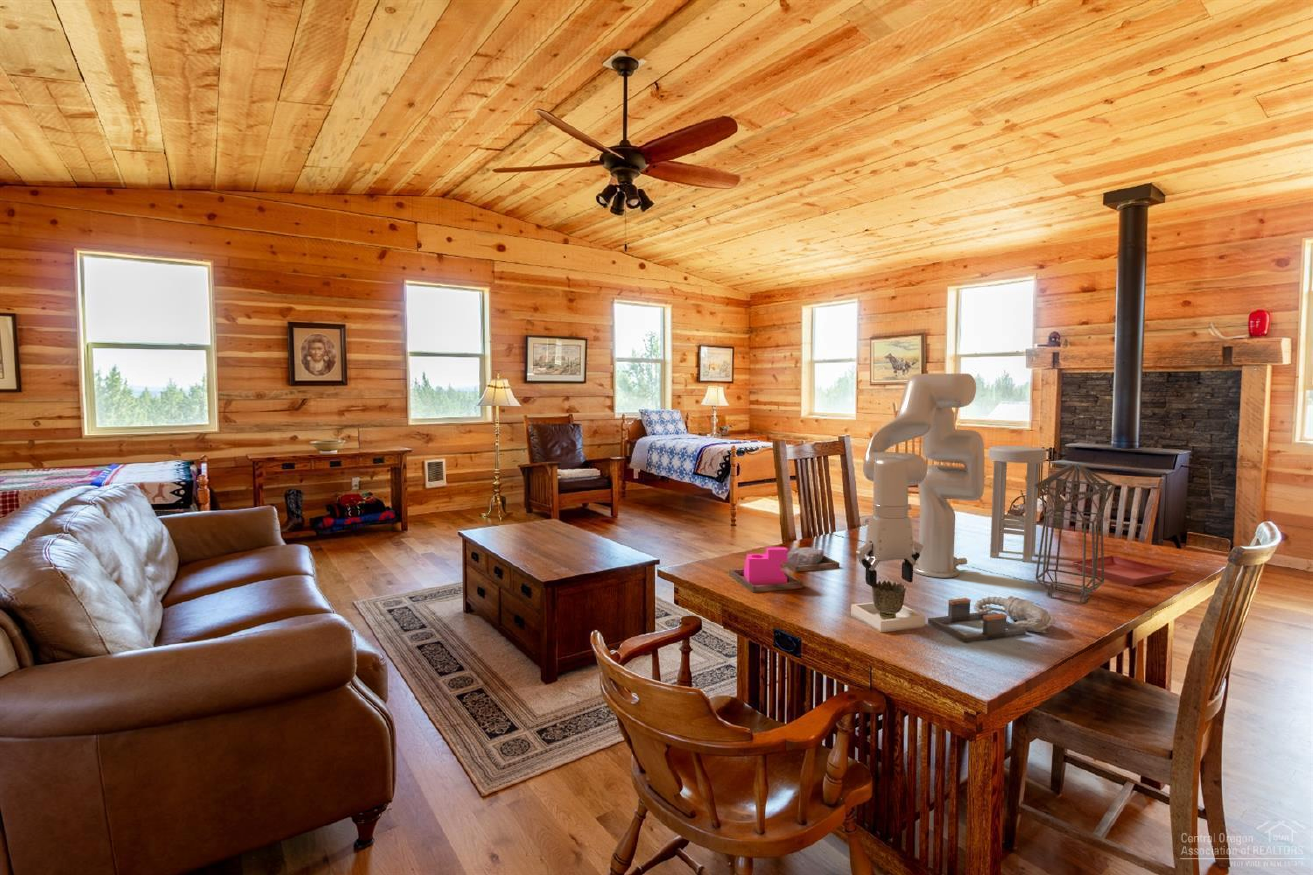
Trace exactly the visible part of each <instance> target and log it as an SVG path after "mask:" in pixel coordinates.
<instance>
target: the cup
mask: <svg viewBox="0 0 1313 875" xmlns="http://www.w3.org/2000/svg"><path fill="white" fill-rule="evenodd" d="M906 589H907V587H905V585H904V584H902V582H899V583H896V581H894V582H892V583H891V581H890V580H888V581H887V582H886V580H883V582H882V581H881V580H879V581H878V582H877V586H876V587H872V586H871V592H872V600H873V601H872V602H874V605H875V607H876V609H877V610H878V611H880V613H879V615H880V617H881V618H882V619H884V620H885V619H894V618H896V613H898V612H899V611H900V610H901V609H902V606H903V605H904V602H905V596H906V595H905V594H906Z"/></svg>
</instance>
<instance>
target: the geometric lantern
mask: <svg viewBox="0 0 1313 875" xmlns="http://www.w3.org/2000/svg"><path fill="white" fill-rule="evenodd" d="M1066 473H1067V475H1066V477H1065V478H1064V479H1063V478H1061V477H1062V476H1064V475H1065V474H1066ZM1072 473H1073V474H1072ZM1080 473H1081V474H1082V476H1083V478H1084V479H1085V481H1080ZM1071 475H1072V480H1068V479H1069V477H1070V476H1071ZM1099 479H1100V480H1101V481H1102V482H1101V481H1099ZM1054 481H1056V482H1057V483H1059V484H1060V485H1059V486H1058V487H1052V486H1051V483H1053V482H1054ZM1066 483H1067V484H1071V487H1070V486H1069V485H1067V484H1066ZM1080 484H1082V485H1089V487H1088V490H1087V491H1078V490H1079V486H1080ZM1075 485H1076V488H1075ZM1034 486H1035V487H1037V488H1038V492H1040V495H1041V502H1042V503H1041V505H1042V514H1043V515H1042V516H1044V517H1043V524H1042V531H1041V537H1040V543H1039V544H1040V545H1039V551H1038V557H1037V558H1038V559H1037V565H1036V571H1035V578H1034V579H1035V580H1036V581H1037V582H1038V583H1039V585H1041V586H1042V587H1044V588H1045V589H1046V591H1047V594H1046V595H1045V596H1046V597H1047V598H1051V599H1057V600H1061V601H1067V602H1072V603H1077V604H1085V603H1086V602H1087V601H1088V599H1089V596H1090V593H1092V592H1095V591H1096V590H1097V589H1098V588H1099V587H1100V586H1102V585H1103V583H1105V579H1104V555H1105V554H1104V549H1105V548H1104V517H1103V516H1104V511H1105V508H1106V505H1107V503H1108V501H1109V499H1110V497H1111V495H1112V493H1113V492H1114V490H1115V488H1116V484H1115V483H1113V482H1111V481H1110V480H1108V479H1106V478H1104V477H1103V476H1100V475H1099V474H1097V473H1095V472H1093V471H1091V470H1090V469H1088V468H1086V467H1084V466H1083V465H1081V464H1079V463H1070V464H1068V465H1067V466H1065V467H1063V468H1062V469H1060V470H1058V471H1056V472H1055V473H1053V474H1051V475H1050V476H1048V477H1046V478H1045V479H1044V478H1043V480H1040V481H1038V483H1037V484H1035V485H1034ZM1063 486H1064V487H1065V488H1067V489H1068V490H1070V491H1065V490H1061V489H1062V488H1063ZM1108 487H1110V488H1108ZM1074 488H1075V489H1074ZM1091 488H1092V489H1093V490H1094V491H1091ZM1051 490H1053V491H1056V494H1055V495H1054V494H1053V493H1052V492H1050V491H1051ZM1100 491H1101V492H1100ZM1059 493H1061V494H1066V495H1067V494H1068V496H1069V497H1068V498H1067V500H1061V499H1060V498H1059ZM1100 494H1102V503H1101V506H1100V507H1099V508H1098V506H1097V504H1096V502H1095V500H1094V499H1093V497H1094V496H1096V495H1100ZM1075 495H1080V496H1081V497H1079V498H1076V499H1073V500H1072V498H1073V497H1074V496H1075ZM1044 496H1050V498H1051V500H1052V502H1053V504H1054V506H1055V507H1054V508H1051V509H1049V510H1048V511H1046V507H1045V497H1044ZM1088 498H1090V499H1091V502H1092V503H1093V505H1094V507H1095V509H1096V510H1097V512H1089V511H1080V510H1079V509H1078V508H1079V507H1077V505H1076V504H1075V503H1077V502H1079V501H1083V500H1084V499H1088ZM1055 500H1056V501H1057V503H1058V504H1057V503H1056V501H1055ZM1061 504H1063V505H1062V506H1061V507H1060V508H1059V506H1060V505H1061ZM1068 504H1072V506H1073V507H1074V510H1073V509H1066V508H1065V507H1066V506H1067V505H1068ZM1064 511H1065V512H1073V513H1077V514H1078V516H1080V519H1075V518H1066V517H1064ZM1057 512H1060V516H1056V515H1057ZM1048 513H1050V514H1048ZM1083 514H1089V515H1095V517H1094V518H1093V520H1086V519H1085V518H1084V516H1083ZM1050 518H1051V519H1052V520H1051V521H1052V522H1051V528H1050V529H1051V530H1050V538H1049V537H1048V536H1049V523H1050V522H1049V521H1050ZM1056 519H1059V520H1060V522H1059V531H1058V542H1057V552H1056V562H1055V569H1051V568H1049V567H1050V560H1051V553H1052V545H1053V538H1054V530H1055V524H1056V523H1055V522H1056ZM1081 519H1082V520H1081ZM1063 520H1065V521H1066V520H1068V521H1074V522H1079V523H1083V542H1082V543H1083V545H1082V546H1083V547H1082V553H1083V554H1082V560H1083V573H1078V572H1073V571H1068V570H1067V571H1066V570H1060V569H1059V562H1060V554H1061V553H1060V552H1061V551H1060V550H1061V542H1062V531H1063V530H1062V529H1063ZM1095 523H1096V524H1095ZM1087 524H1091V542H1092V543H1091V550H1092V551H1091V552H1092V553H1091V559H1092V575H1089V574H1086V573H1085V561H1086V557H1087V556H1086V553H1087ZM1095 525H1096V526H1095ZM1095 528H1096V530H1095ZM1095 531H1096V532H1095ZM1095 534H1096V535H1095ZM1048 538H1049V544H1048ZM1099 539H1100V557H1101V569H1102V578H1101V577H1097V560H1098V557H1099ZM1043 544H1044V546H1043ZM1043 547H1044V548H1043ZM1047 549H1048V552H1047ZM1043 550H1044V551H1043ZM1042 552H1043V561H1042V562H1043V563H1042V572H1041V573H1040V574H1039V572H1040V566H1041V565H1040V564H1041V557H1042ZM1049 572H1054V579H1053V578H1052V575H1051V574H1050V573H1049ZM1057 572H1058V573H1062V574H1068V575H1074V576H1079V577H1082V582H1081V583H1082V585H1079V584H1072V583H1067V582H1060V581H1058V579H1057ZM1046 574H1047V576H1048V577H1049V579H1050V580H1051V581H1047V580H1045V579H1046ZM1086 578H1089V579H1090V580H1089V582H1088V583H1087V584H1086ZM1096 580H1098V582H1097V583H1096ZM1090 584H1092V586H1090ZM1048 585H1049V586H1048ZM1058 587H1061V588H1066V589H1071V590H1075V591H1070V590H1065V589H1060V588H1058ZM1079 587H1080V588H1079ZM1077 591H1079V592H1077ZM1053 592H1055V593H1060V594H1065V595H1070V596H1076V597H1079V601H1077V600H1073V599H1067V598H1061V597H1057V596H1053ZM1082 597H1083V600H1082Z"/></svg>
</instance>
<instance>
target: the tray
mask: <svg viewBox="0 0 1313 875" xmlns="http://www.w3.org/2000/svg"><path fill="white" fill-rule="evenodd" d="M850 612H851V613H850V615H851V616H852V617H854V618H856V619H857V620H859V621H860V622H862V623H864V624H865V625H867V626H869V627H871V628H872V629H874V630H876V631H877V632H879V633H887V632H895V631H896V632H897V631H902V630H903V631H906V630H911V629H912V630H913V629H919V628H920V629H921V628H925V627H926V616H925V615H924V614H921V613H920V612H917V611H916V610H914V609H911V608H910V607H908V606H906V605H904V604H903V606H902V609H901V610H900V611H899V612H898V613H896V618H894V619H885V620H884V619H882V618H881V617H880V615H879V613H880V611H878V610H877V609H876V607H875V605H874V601H872V602H871V601H870V602H863V603H853V604H851V605H850Z"/></svg>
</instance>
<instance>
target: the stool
mask: <svg viewBox="0 0 1313 875" xmlns="http://www.w3.org/2000/svg"><path fill="white" fill-rule="evenodd" d="M988 460H990V461H993V477H992V500H991V524H990V525H991V526H990V545H989V546H990V548H989V549H990V551H989V558H992V559H999V557H1000V553H1003V551H1004V542H1005V541H1004V540H1005V539H1004V538H1005V536H1004V535H1005V534H1006V535H1007V534H1008V535H1016V536H1023V546H1022V547H1023V550H1022V563H1028V564H1032V559H1033V557H1035V556H1036V540H1037V521H1038V520H1037V518H1038V496H1039V495H1038V494H1039V489H1038V488H1037V487H1035V486H1034V485H1035V484H1037V483H1039V477H1040V474H1039V473H1040V464H1041V463H1046V461H1047V449H1046V448H1043V447H1039V446H1037V447H1036V446H1027V445H1024V446H1023V445H993V446H990V447H989V448H988ZM1008 463H1016V464H1026V480H1025V481H1026V484H1025V501H1024V502H1025V505H1024V506H1025V508H1024V516H1023V515H1015V514H1014V515H1013V514H1005V513H1006V492H1007V491H1006V490H1007V489H1006V488H1007V487H1006V486H1007V468H1008V467H1007V466H1008V465H1007V464H1008Z"/></svg>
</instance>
